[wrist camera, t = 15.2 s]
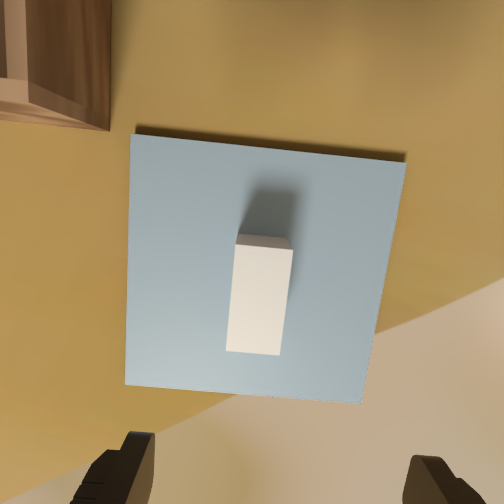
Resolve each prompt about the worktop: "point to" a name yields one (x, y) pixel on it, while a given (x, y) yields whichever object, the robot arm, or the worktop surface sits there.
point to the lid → (255, 267)
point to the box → (56, 62)
